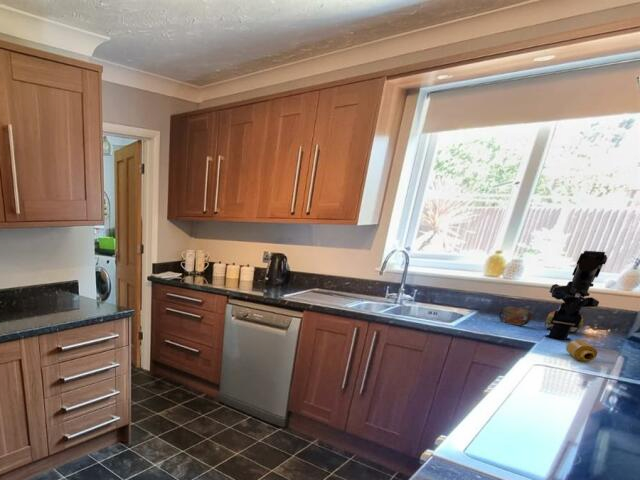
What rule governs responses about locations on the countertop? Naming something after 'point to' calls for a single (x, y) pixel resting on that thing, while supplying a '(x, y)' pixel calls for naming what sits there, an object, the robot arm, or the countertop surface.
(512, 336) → the countertop surface
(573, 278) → the robot arm
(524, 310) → the tin
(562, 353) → the countertop surface
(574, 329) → the burger
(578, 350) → the bottle
